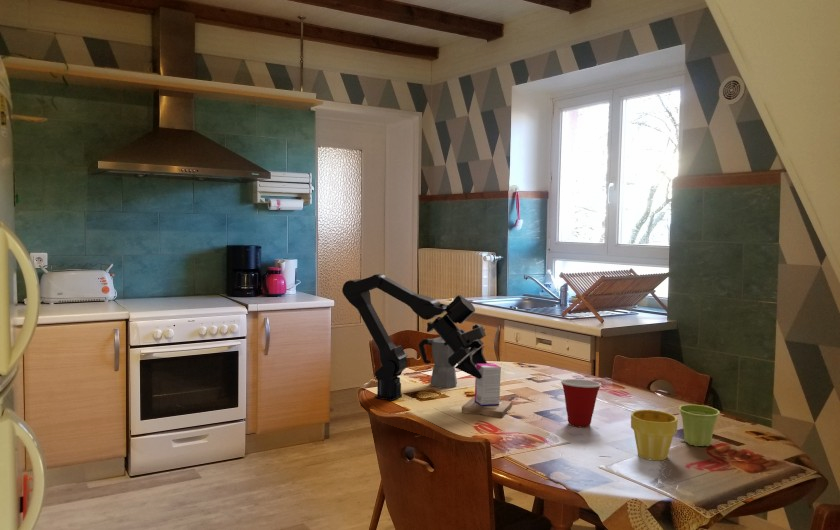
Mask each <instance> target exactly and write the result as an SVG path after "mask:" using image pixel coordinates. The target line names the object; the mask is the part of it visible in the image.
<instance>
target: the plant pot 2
mask: <svg viewBox="0 0 840 530" xmlns="http://www.w3.org/2000/svg"><path fill="white" fill-rule="evenodd" d="M678 410H679V411H680V416H681V419H682V428H683V437H684V438H683V439H684V442H685V443H688V445H690V446H692V445H694V447H697V446H702V447H709V446H711V443H712V438H713V434H714V430H715V429H714V428H715V425H716V421H717V419H718V416H719V415H720V414H721V413H720V410H718V409H717V408H714V407H712V406H708V405H703V404H701V405H700V404H683V405H680V406H679V408H678Z"/></svg>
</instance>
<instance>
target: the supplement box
mask: <svg viewBox="0 0 840 530" xmlns="http://www.w3.org/2000/svg"><path fill="white" fill-rule="evenodd" d="M475 366H476V367H477V369H478V370H479V372H480V374H481V375H482V378H480V379H478V378H476V377H475V383H474V397H475V401H474V402H476V403H477V404H479V405H480V406H481V407H486V406H499V401H500V400H501V399H500V398H501V397H500V396H501V394H500V393H501V372H502V371H501V368H502V367H501V366H500V365H498V364H495V363H490V362H489V363H488V362H487V364H476V365H475Z"/></svg>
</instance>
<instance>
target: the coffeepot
mask: <svg viewBox="0 0 840 530" xmlns="http://www.w3.org/2000/svg"><path fill="white" fill-rule="evenodd" d="M444 343H445V342H444V340H443V339H442V338H441V337H440V336H439V337H434V338H423V339H422V340H421V341H420V342H419V343H418V349H419V351H420V355H421V358H422V361H423V363H424V364H431V360H427V353H426V349H425V345H429V346H431V351H432V352H431V353H432V359H433V360H434V364H433V367H432V372H431V378H430V382H429V383H430V386H431V387H434V386H435V388H438V387H441V388H440V389H450V388H449V387H452V388H455V387H457V384H458V381H457V373H456V368H455V367H456V365H455V366H454V367H453V368H452V367H451V366H450V364H449V363H448V358H449V357H450V356H451V355H452V354H454V352H453V351H452V350H451V349H450V347H449V346H448V345H447V346H445V345H444Z"/></svg>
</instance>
